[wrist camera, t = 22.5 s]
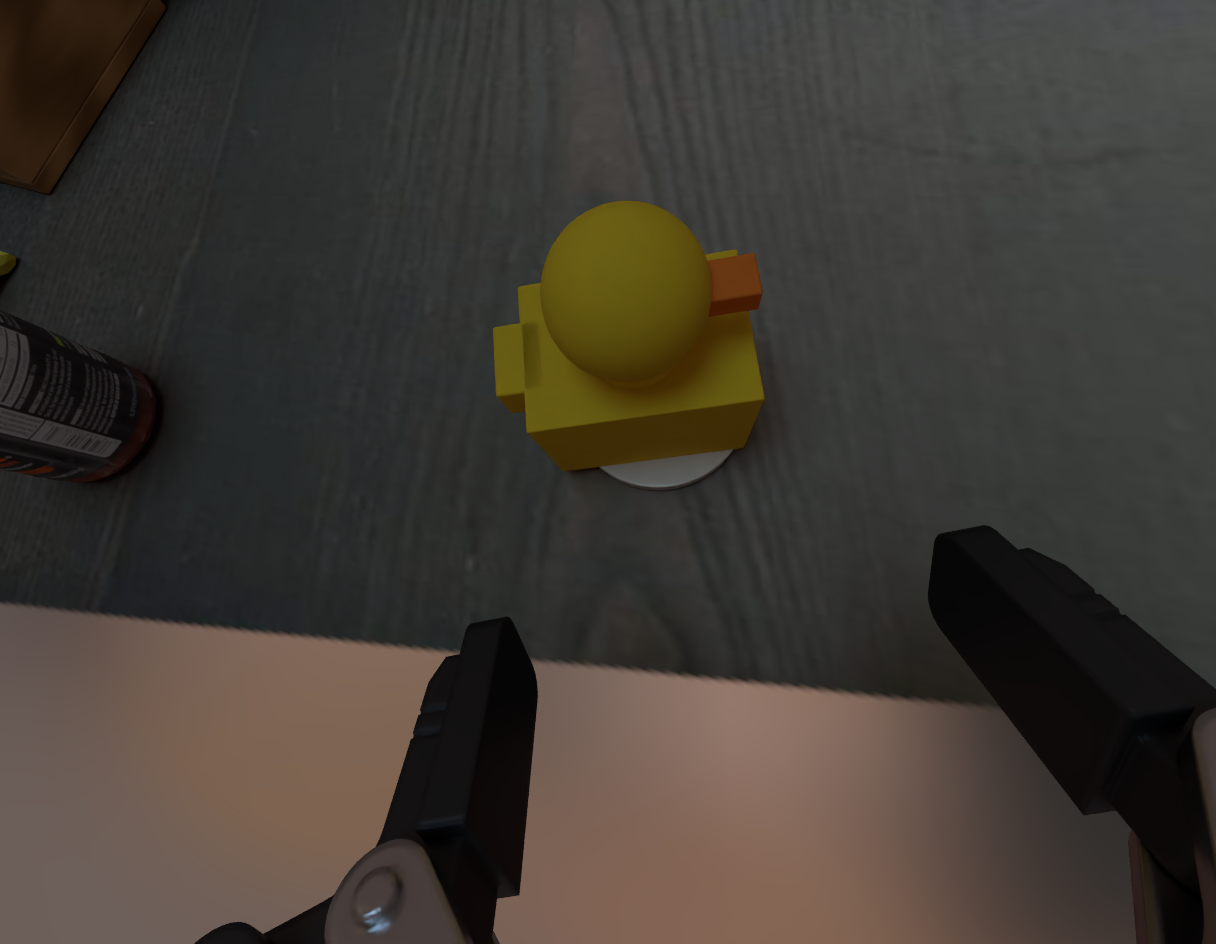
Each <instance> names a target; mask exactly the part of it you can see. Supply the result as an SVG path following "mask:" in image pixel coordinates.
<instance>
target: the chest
mask: <svg viewBox="0 0 1216 944" xmlns="http://www.w3.org/2000/svg"><path fill="white" fill-rule="evenodd" d="M165 10H166V6H165V5H164V4H163V3H162V2H161V0H0V182H3V183H7V184H10V185H14V186H18V187H22V188H26V189H30V190H34V191H37V192H41V193H45V194H50V192H51V191H52V189H53V187H54V186H55V184H56V183H57V181H58V179H59V178H60V176H61V175H62V173H63V172H64V170H65V168H66V167H67V165H68V164H69V162H70V160H71V159H72V157H73V156H74V154H75V152H76V151H77V149H78V148H79V146H80V145H81V143H82V141H83V140H84V138H85V137H86V135H87V133H88V132H89V130H90V129H91V127H92V126H93V124H94V122H95V121H96V119H97V118H98V116H99V114H100V113H101V111H102V110H103V108H104V106H105V105H106V103H107V102H108V100H109V99H110V97H111V95H112V94H113V92H114V91H115V89H116V87H117V86H118V84H119V83H120V81H121V80H122V78H123V76H124V75H125V73H126V72H127V70H128V68H129V67H130V65H131V64H132V62H133V60H134V59H135V57H136V56H137V54H138V53H139V51H140V49H141V48H142V46H143V45H144V43H145V41H146V40H147V38H148V37H149V35H150V34H151V32H152V30H153V29H154V27H155V26H156V24H157V22H158V21H159V19H160V18H161V16H162V14H163V13H164V11H165Z"/></svg>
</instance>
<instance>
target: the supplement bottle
mask: <svg viewBox="0 0 1216 944" xmlns="http://www.w3.org/2000/svg"><path fill="white" fill-rule="evenodd" d="M156 402H157V401H156V398H155V394H154V392H153V389H152V387H151V385H150V383H149V382H148V380H147V379H146V378H145V376H143V375H142V374H141V373H140V372H139V371H137V370H136V369H134V368H132V367H130V366H128V365H126V364H124V363H122V362H120V361H118V360H116V359H114V358H112V357H110V356H107V355H105V354H102V353H100V352H98V351H96V350H93V349H90V348H88V347H85V346H83V345H81V344H79V343H76V342H74V341H72V340H69V339H67V338H64V337H62V336H60V335H57V334H55V333H53V332H50V331H48V330H45V329H43V328H41V327H38V326H36V325H34V324H31V323H29V322H27V321H24V320H22V319H20V318H17V317H15V316H13V315H10V314H8V313H5V312H2V311H0V469H1V470H6V471H13V472H17V473H23V474H27V475H32V476H35V477H44V478H47V479H53V480H65V481H71V482H90V481H95V480H99V479H103V478H106V477H108V476H110V475H112V474H115V473H117V472H118V471H120V470H121V469H122V468H123V467H125V466H126V465H127V464H128V463H130V462H131V461H132V459H134V458H135V456H137V454H138V453H139V452H140V451H141V450H142V448H143V446H144V445H145V444H146V442H147V440H148V439H149V437H150V435H151V432H152V429H153V425H154V422H155V419H156V416H155V414H156Z"/></svg>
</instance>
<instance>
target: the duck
mask: <svg viewBox="0 0 1216 944" xmlns="http://www.w3.org/2000/svg"><path fill="white" fill-rule="evenodd" d="M762 293H763V291H762V286H761V281H760V276H759V271H758V266H757V261H756V256H755V254H754V253H750V254H744V255H738V252H737V250H729V251H723V252H717V253H712V254H706V255H705V254H704V251H703V249H702V247H701V245H700V244H699V242H698V240H697V239H696V237H695V236H694V234H693V233H692V232H691V231H690V230H689V228H688V227H687V226H686V225H685V224H684V223H683V222H681V221H680V220H679V219H678V218H677V217H675V216H674V215H672V214H671V213H669V212H667V211H666V210H664V209H662V208H660V207H658V206H655V205H652V204H649V203H644V202H639V201H617V202H610V203H606V204H603V205H600V206H597V207H595V208H592V209H590V210H588V211H586V212H585V213H583V214H582V215H580V216H578V217H577V218H576V219H575V220H573V221H572V222H571V223H570V224H569V225H568V226H567V227H566V228H565V229H564V230H563V231H562V233H561V234H560V235H559V237H558V238H557V239H556V241H555V242H554V244H553V246H552V247H551V249H550V252H549V254H548V256H547V259H546V261H545V264H544V268H543V271H542V278H541V283H537V284H532V285H526V286H520V287H518V301H519V317H520V323H519V324H512V325H506V326H500V327H495V328H493V340H494V361H495V382H496V396H497V397H498V398H499V400H500V401H501V402H502V403H503V404H504V405H505V406H506V407H507V408H508V409H509V410H510V412H511V413H518V412H526V428H527V433H528V434H529V435H530V436H531V437H532V438H533V439H534V440H535V441H536V443H537V444H538V445H539V446H540V447H541V448H542V449H543V450H544V451H545V452H546V453H547V454H548V455H549V456H550V458H551V459H552V460H553V461H554V462H555V463H556V464H557V465H558V466H559V467H560V468H561V469H562V470H563V471H570V470H578V469H586V468H593V467H601V466H609V465H616V464H624V463H631V462H639V461H647V460H654V459H662V458H670V457H677V456H685V455H693V454H700V453H708V452H715V451H723V450H731V449H738V448H743V447H744V446H745V443H746V441H747V439H748V436H749V434H750V432H751V429H752V427H753V425H754V422H755V420H756V418H757V415H758V413H759V411H760V408H761V406H762V404H763V401H764V399H765V397H764V391H763V386H762V381H761V375H760V370H759V365H758V359H757V354H756V349H755V343H754V338H753V333H752V327H751V322H750V316H749V310H756V309H758V307H759V304H760V300H761V296H762Z"/></svg>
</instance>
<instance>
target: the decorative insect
mask: <svg viewBox="0 0 1216 944" xmlns="http://www.w3.org/2000/svg"><path fill="white" fill-rule="evenodd" d="M15 265H16V257H14V256H12V255H10V254H8V253H5V252H1V251H0V276H1V275H4V274H7V273H9V272H10V271H11V269H12V268H13V267H14V266H15Z"/></svg>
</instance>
